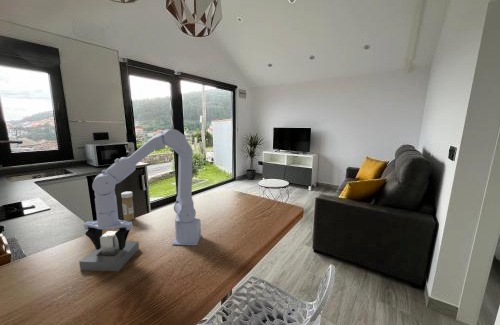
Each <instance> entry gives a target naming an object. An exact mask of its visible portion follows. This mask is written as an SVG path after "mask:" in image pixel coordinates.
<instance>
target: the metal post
mask: <svg viewBox="0 0 500 325" xmlns="http://www.w3.org/2000/svg"><path fill="white" fill-rule="evenodd" d="M117 231H118V230H106V232H104V233H102V236H101V237H100V243H101V252H102V256H115V255H116V254H117V253H118V252H120V251H121V250H120V249H119V243H118V239H117V237H116V235H115V233H116V232H117Z"/></svg>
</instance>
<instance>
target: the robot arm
mask: <svg viewBox="0 0 500 325" xmlns="http://www.w3.org/2000/svg"><path fill="white" fill-rule="evenodd" d="M166 146H167V147H168V148H170V149H172V150H173V151H174V152H175V153H176V154H178V161H177V162H178V167H177V168H178V170H177V171H178V173H177V174H178V175H177V177H178V178H177V196H176V198H175V199H176V201H175V202H174V204H173V211H174V212H175V214H176V216H175V218H174V222H175V225H174V226H175V239H173V241H172V243H171V244H172V245H173V246H174V245H175V246H197V245H198V243H199V241H200V240H201V237H202V226H201V225H202V222H201V219H200V218H196V209H195V207H194V199H193V196H192V193H193V190H192V189H193V188H192V186H193V159H194V157H193V156H194V152H193V148H192V147H191V144H190V143H189V141H188V140H187V137H186V136H185V135H184V133H182V132H181V131H180V130H177V129H174V128H164V129H162V130H161V131H160V132H158V133H156V134H155V135H154V136H151V138H149V139H148V140H147V141H146V142H145V143H144V144H142V145H140V146H139V148H137V150H135V151H134V152H133V153H132V154H130V155H129V156H128V157H127V156H122V157H120V158H116V159H114V163H112V164H111V165H110V166H109V167H108V168H106V169H103V170H101V173H99V174H97V175H96V176H95V178H94V180H93V182H92V184H91V186H92V190H93V191H94V197H95V198H94V204H95V212H96V220H88V221H86V222H85V223H83V227H84V230H87V231H86V232H85V233H84V234H85V236H86V237H88V238H89V239H90V241H91V243H92V244H93V246H94V247H95V249H96V250H99V249H100V248H101V243H100V237H101V236H102V235H103V231H104V230H116V231H117V232H116V233H115V235H116V237H117V239H118V243H119V249H120V250H123V248H124V247H125V244H126V241H127V239H128V236H129V233H130V231H131V229H132V228H133V221H124V219H123V220H122V219H119V212H118V203H117V202H118V201H117V195H116V190H115V189H116V185H117V184H119V183H121V182H123V181H124V180H125V179H126V178H128V177H129V176H130V175H132V174H133V173H134V172H135V171H136V167H137V164H138V163H140V162H141V161H142V160H144V159H145V158H146V157H148V156H149V155H150V154H151V153H153V152H154V151H156V150H162V149H166Z"/></svg>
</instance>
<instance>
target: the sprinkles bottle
mask: <svg viewBox="0 0 500 325" xmlns="http://www.w3.org/2000/svg"><path fill="white" fill-rule="evenodd" d="M120 195H121V200H122V205H121V206H122V214H123V221H127V222H132V221H133V220H134V219H135V211H134V202H133V201H134V200H133V191H123V192H121V193H120ZM132 219H133V220H132Z"/></svg>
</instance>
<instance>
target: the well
mask: <svg viewBox="0 0 500 325" xmlns="http://www.w3.org/2000/svg"><path fill="white" fill-rule="evenodd" d="M139 243H140V242H139V241H135V240H133V241H132V240H131V241H130V240H129V241H128V240H126V244H125V247H124V248H123V250H121V251H120V252H118V253H117V254H116V255H115V256H102V252H101V248H100V249H99V250H96V248H95V249H93V250H92V251H90V252H89V253H88V254H86V255H85V256H84V257H83V258H82V259H80V260H79V262H78V263H79V269H80V270H79V271H95V272H96V271H97V272H98V271H99V272H120V271H121V269H122V268H123V267H124V266H125V265H126V264H127V263H128V262H129V261H130V260H131V258H132V257H133V256H134V255H135V254H136V253H137V251H139V250H140V248H139V245H140V244H139Z"/></svg>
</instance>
